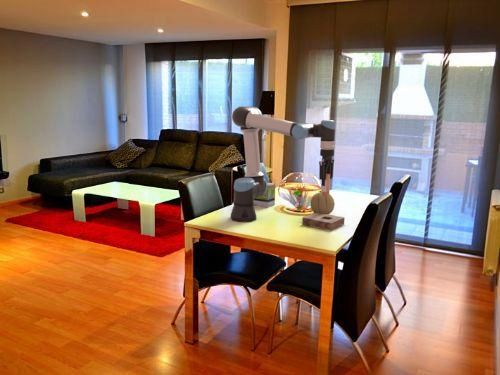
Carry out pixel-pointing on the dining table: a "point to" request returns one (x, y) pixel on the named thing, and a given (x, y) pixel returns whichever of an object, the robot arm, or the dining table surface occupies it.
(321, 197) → the cantaloupe
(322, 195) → the peg
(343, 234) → the dining table surface
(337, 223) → the socket block
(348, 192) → the dining table surface
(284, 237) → the dining table surface
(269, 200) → the tea box
